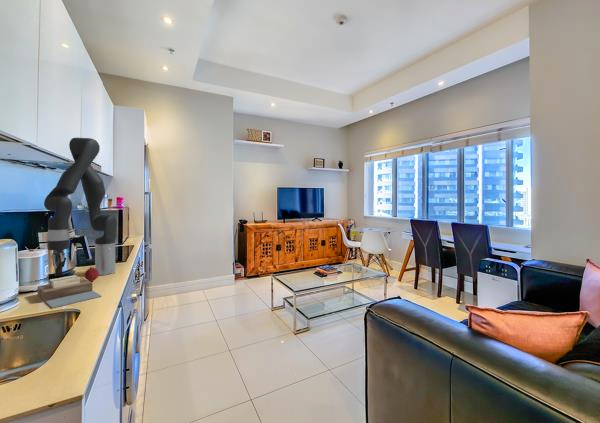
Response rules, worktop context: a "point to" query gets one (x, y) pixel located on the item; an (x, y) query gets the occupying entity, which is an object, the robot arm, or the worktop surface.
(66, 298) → the mat
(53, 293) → the deck
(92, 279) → the onion
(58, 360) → the worktop surface
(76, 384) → the worktop surface
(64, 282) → the tile
